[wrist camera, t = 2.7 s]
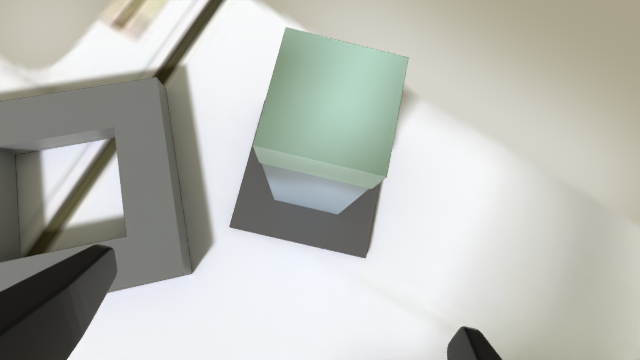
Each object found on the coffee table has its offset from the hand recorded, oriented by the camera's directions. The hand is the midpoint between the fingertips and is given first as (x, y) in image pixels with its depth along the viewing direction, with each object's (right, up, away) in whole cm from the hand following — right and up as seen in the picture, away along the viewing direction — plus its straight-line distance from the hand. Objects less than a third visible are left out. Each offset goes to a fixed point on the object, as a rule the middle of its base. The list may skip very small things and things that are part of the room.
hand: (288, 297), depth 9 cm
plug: (0, +3, +13) cm, 13 cm away
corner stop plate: (0, +3, +13) cm, 13 cm away
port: (-14, +2, +12) cm, 18 cm away
